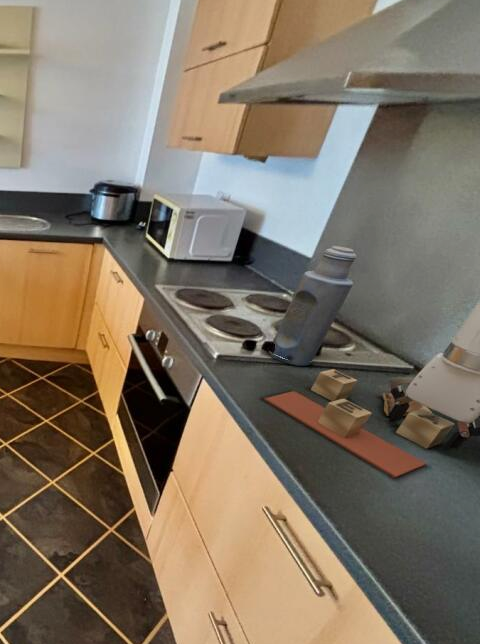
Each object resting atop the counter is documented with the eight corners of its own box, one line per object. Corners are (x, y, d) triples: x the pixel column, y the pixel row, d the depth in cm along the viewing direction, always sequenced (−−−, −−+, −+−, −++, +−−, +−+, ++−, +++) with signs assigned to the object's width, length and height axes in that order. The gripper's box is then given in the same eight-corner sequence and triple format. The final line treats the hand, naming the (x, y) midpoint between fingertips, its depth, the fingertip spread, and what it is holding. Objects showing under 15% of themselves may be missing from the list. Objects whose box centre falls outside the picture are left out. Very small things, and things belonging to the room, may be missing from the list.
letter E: (359, 433, 82) (372, 412, 80) (344, 438, 81) (357, 416, 78) (332, 417, 87) (344, 397, 84) (317, 422, 85) (328, 401, 82)
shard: (384, 417, 89) (389, 410, 88) (354, 396, 96) (358, 389, 95) (431, 418, 90) (436, 411, 89) (397, 397, 96) (402, 391, 96)
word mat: (425, 465, 76) (426, 463, 76) (394, 478, 72) (396, 476, 72) (293, 392, 95) (293, 390, 95) (263, 399, 92) (264, 398, 92)
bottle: (259, 349, 114) (307, 242, 101) (288, 348, 116) (338, 242, 103) (289, 367, 106) (346, 253, 92) (320, 365, 108) (379, 253, 94)
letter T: (346, 398, 95) (358, 379, 92) (333, 402, 93) (344, 383, 90) (323, 386, 99) (333, 368, 96) (310, 390, 97) (320, 371, 95)
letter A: (439, 443, 82) (455, 422, 80) (426, 448, 80) (442, 427, 78) (408, 427, 86) (422, 407, 84) (395, 432, 84) (409, 412, 82)
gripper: (556, 381, 69) (489, 460, 77) (424, 335, 83) (379, 405, 91) (537, 388, 66) (469, 469, 74) (404, 339, 80) (359, 411, 88)
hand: (420, 433), depth 83 cm, fingers open, 8 cm apart
